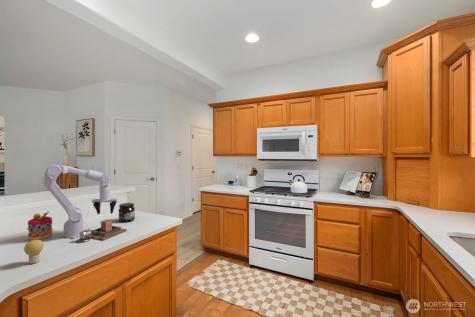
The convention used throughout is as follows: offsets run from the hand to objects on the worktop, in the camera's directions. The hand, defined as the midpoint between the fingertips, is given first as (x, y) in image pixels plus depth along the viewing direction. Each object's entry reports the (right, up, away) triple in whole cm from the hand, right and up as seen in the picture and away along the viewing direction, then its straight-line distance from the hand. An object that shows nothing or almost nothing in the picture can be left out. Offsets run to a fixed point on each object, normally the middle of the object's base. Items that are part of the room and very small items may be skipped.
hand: (105, 213), depth 137 cm
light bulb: (-7, -12, -41) cm, 43 cm away
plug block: (+5, -10, -7) cm, 13 cm away
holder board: (+5, -11, -7) cm, 13 cm away
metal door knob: (-2, -11, -17) cm, 20 cm away
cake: (-29, -11, -13) cm, 34 cm away
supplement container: (+4, -10, +19) cm, 22 cm away
